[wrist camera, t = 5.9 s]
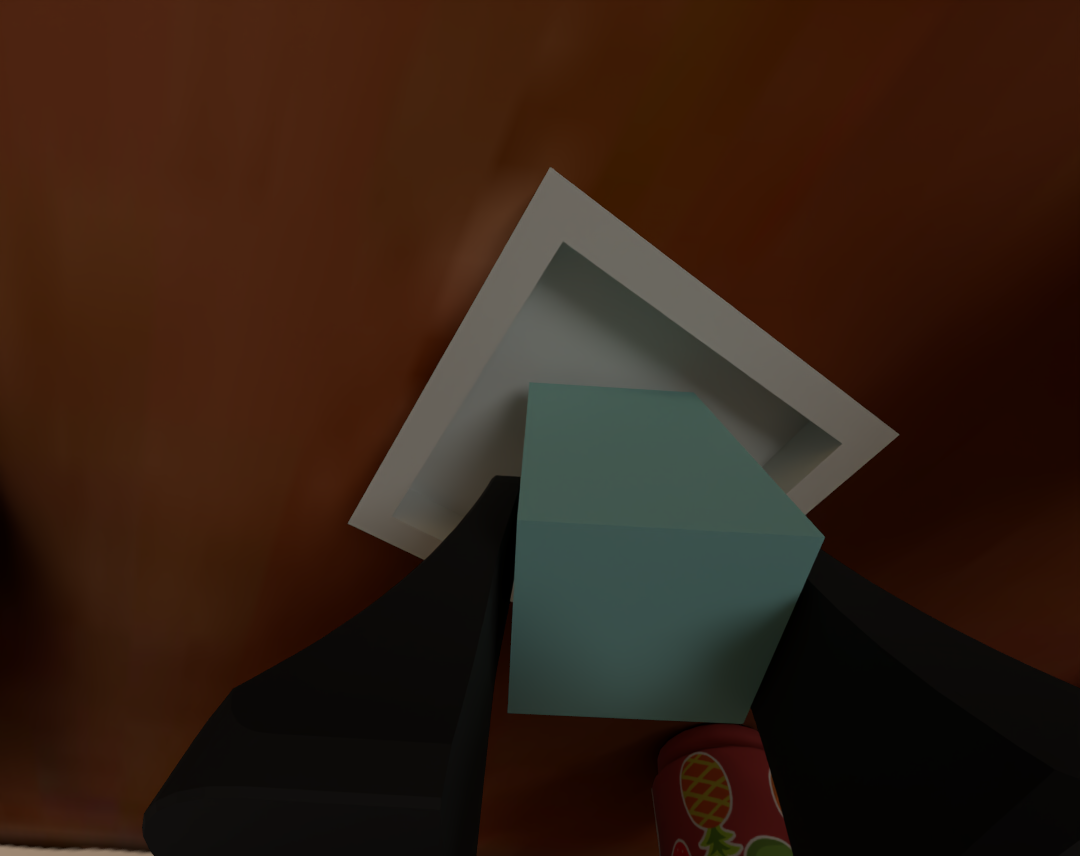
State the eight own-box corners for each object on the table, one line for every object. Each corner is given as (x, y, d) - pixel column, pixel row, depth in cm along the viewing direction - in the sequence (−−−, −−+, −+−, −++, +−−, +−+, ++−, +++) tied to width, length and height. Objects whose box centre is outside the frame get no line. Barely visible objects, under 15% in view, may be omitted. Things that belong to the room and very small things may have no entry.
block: (694, 392, 12) (825, 537, 6) (663, 525, 14) (742, 724, 8) (529, 382, 12) (517, 519, 6) (521, 517, 13) (507, 713, 8)
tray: (849, 403, 13) (899, 434, 11) (625, 611, 17) (634, 660, 15) (550, 175, 11) (550, 167, 9) (373, 484, 15) (347, 523, 13)
